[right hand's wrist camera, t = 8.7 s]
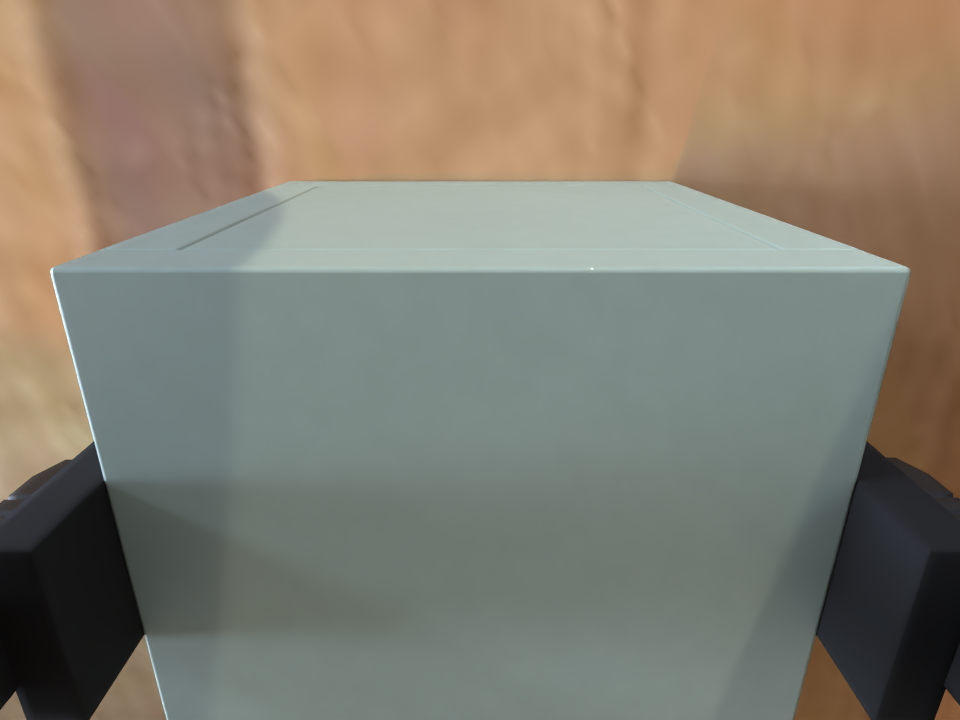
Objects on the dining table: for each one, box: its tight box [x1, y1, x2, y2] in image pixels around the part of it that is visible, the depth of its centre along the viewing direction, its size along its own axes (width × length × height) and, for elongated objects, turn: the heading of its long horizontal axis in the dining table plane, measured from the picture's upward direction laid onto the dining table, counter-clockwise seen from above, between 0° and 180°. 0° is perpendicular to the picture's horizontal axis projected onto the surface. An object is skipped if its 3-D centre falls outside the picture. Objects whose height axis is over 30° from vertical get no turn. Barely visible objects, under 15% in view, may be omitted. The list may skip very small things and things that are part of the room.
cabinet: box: [50, 181, 910, 720], centre depth 16 cm, size 22×10×10 cm, turn 0°
